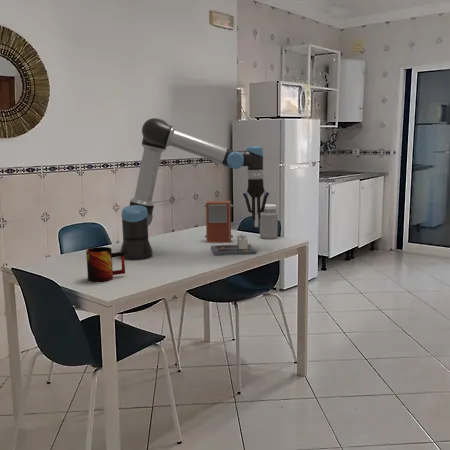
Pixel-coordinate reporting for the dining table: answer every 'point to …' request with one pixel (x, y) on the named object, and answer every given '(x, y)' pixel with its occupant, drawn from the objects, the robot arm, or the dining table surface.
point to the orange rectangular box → (218, 221)
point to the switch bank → (231, 250)
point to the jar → (269, 222)
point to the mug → (102, 264)
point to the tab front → (242, 243)
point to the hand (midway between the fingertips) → (256, 226)
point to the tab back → (240, 237)
